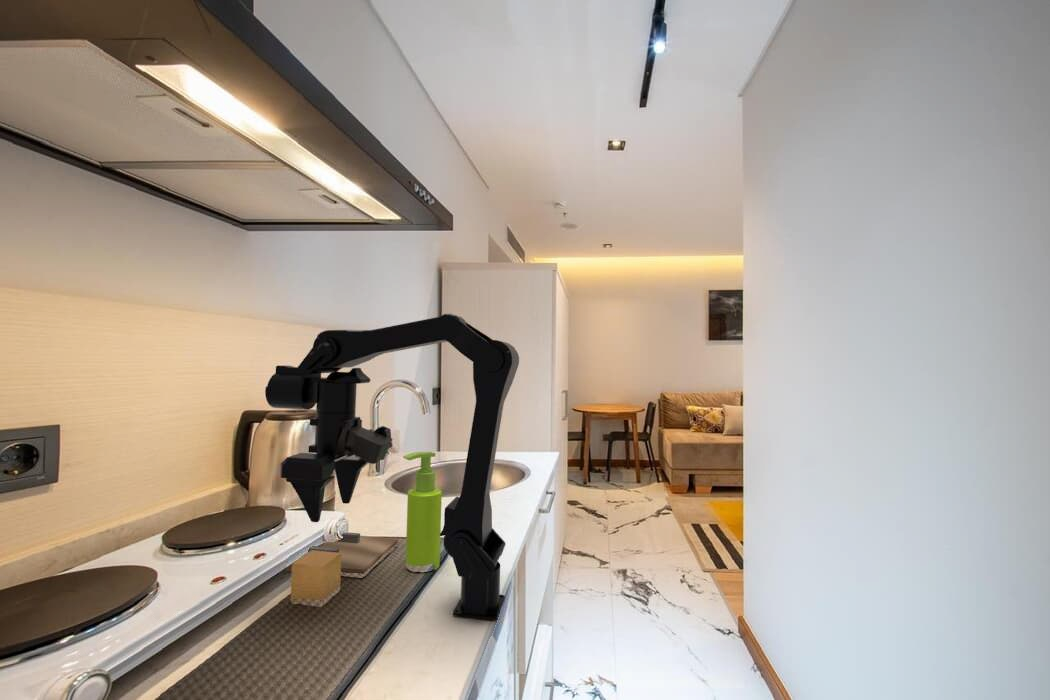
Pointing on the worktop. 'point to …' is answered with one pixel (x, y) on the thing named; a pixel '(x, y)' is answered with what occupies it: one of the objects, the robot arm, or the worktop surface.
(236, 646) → the worktop surface
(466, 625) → the worktop surface
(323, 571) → the block
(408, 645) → the worktop surface
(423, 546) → the soap dispenser
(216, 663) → the worktop surface
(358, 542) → the dock
